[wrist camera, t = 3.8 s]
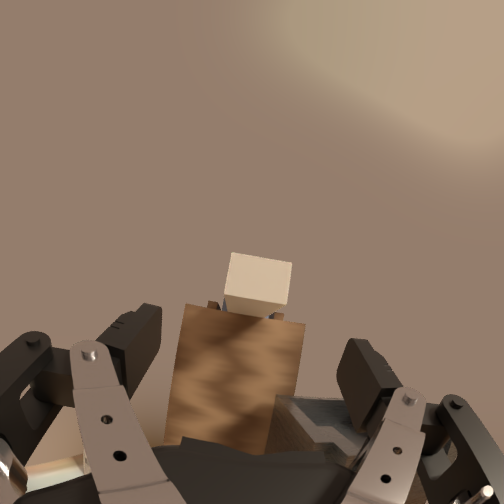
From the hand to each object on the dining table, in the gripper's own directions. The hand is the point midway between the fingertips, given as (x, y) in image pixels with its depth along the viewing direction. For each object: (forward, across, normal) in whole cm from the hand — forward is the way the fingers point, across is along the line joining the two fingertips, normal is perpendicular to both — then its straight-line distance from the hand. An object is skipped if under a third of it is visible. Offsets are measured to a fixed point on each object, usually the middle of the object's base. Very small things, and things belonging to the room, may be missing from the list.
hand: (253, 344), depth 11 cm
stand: (+3, 0, +36) cm, 36 cm away
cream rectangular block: (+14, 0, +5) cm, 15 cm away
